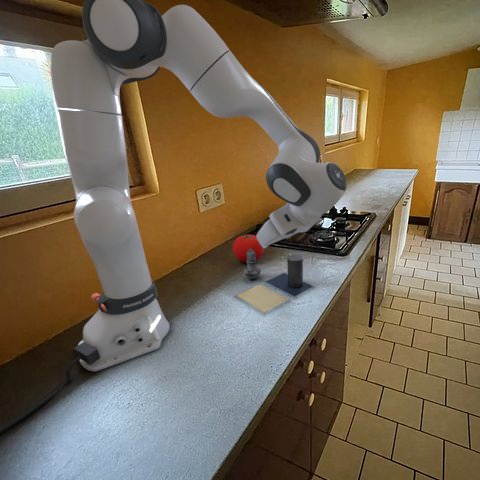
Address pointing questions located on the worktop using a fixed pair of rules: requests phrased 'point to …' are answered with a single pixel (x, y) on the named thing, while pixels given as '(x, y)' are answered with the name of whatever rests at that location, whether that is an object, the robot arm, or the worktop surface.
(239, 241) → the tomato
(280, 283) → the slate mat
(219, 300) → the worktop surface
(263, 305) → the oat mat
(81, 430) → the worktop surface
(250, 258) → the grey chess piece
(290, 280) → the dark grey cylinder
